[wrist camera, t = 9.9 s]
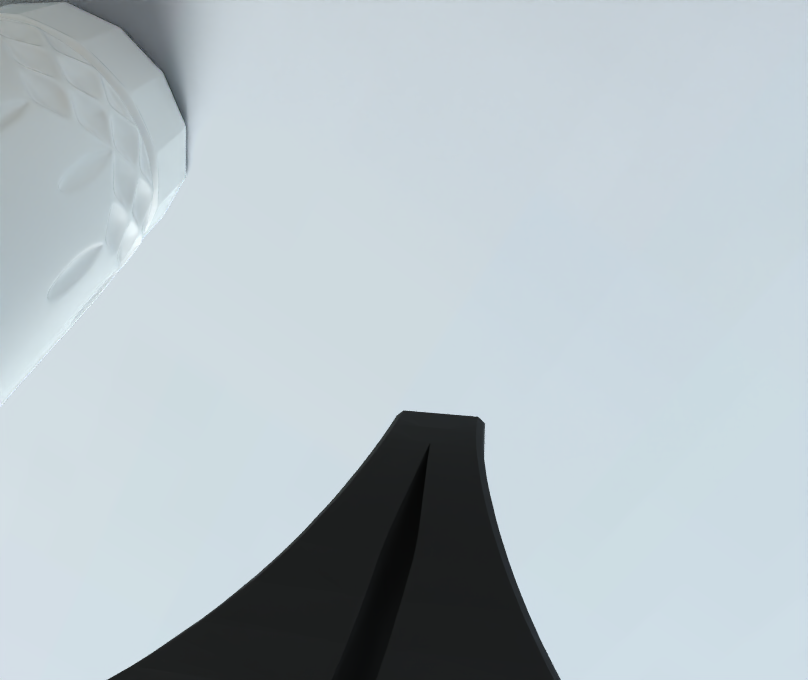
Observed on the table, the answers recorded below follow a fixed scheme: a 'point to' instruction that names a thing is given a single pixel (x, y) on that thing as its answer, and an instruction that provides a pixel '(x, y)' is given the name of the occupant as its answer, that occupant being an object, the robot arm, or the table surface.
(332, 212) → the table surface
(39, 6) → the white cup
